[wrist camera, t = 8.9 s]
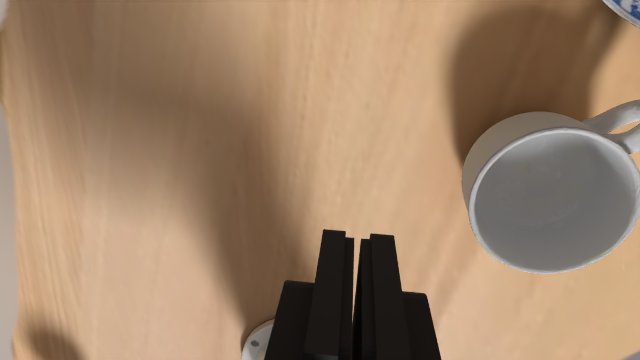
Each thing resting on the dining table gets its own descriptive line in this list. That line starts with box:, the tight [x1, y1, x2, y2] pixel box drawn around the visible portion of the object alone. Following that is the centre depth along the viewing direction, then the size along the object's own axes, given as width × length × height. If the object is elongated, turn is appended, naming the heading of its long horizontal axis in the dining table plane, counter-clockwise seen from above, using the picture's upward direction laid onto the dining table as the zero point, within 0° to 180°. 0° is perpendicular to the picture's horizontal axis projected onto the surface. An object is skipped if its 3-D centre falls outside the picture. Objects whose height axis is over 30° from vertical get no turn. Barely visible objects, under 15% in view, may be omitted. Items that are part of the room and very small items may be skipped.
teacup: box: [462, 100, 640, 274], centre depth 32 cm, size 14×11×8 cm
